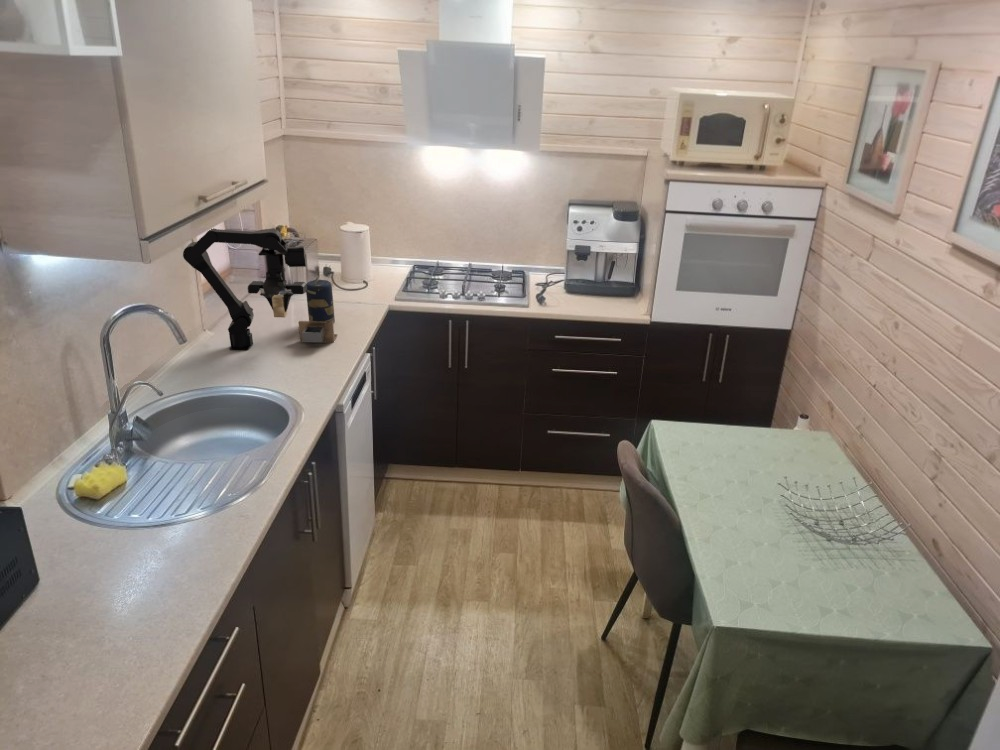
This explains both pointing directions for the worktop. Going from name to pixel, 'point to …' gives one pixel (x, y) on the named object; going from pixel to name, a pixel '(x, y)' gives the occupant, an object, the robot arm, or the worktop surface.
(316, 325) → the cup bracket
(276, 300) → the rail end
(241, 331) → the robot arm
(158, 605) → the worktop surface
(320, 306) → the canister
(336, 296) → the worktop surface
